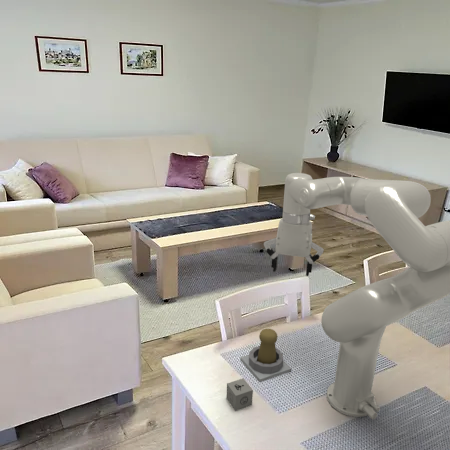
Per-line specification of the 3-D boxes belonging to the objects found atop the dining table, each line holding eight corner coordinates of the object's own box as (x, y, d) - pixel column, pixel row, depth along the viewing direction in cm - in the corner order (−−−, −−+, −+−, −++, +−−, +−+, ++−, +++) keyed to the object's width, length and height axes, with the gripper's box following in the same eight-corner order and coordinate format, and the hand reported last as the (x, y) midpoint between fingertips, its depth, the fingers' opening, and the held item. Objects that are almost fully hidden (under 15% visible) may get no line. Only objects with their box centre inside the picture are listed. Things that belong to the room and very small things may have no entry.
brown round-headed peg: (263, 354, 130) (265, 323, 127) (280, 362, 127) (283, 330, 123) (252, 363, 126) (254, 332, 122) (269, 372, 122) (271, 340, 119)
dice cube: (226, 398, 114) (226, 383, 112) (242, 393, 116) (243, 378, 114) (235, 411, 110) (235, 395, 108) (252, 405, 112) (252, 389, 110)
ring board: (291, 371, 125) (292, 361, 124) (259, 382, 120) (260, 372, 119) (270, 350, 134) (271, 341, 133) (240, 360, 129) (240, 350, 128)
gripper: (327, 216, 122) (321, 270, 128) (267, 210, 126) (264, 263, 132) (326, 224, 115) (320, 281, 121) (263, 218, 119) (260, 273, 125)
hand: (291, 272), depth 126 cm, fingers open, 9 cm apart
